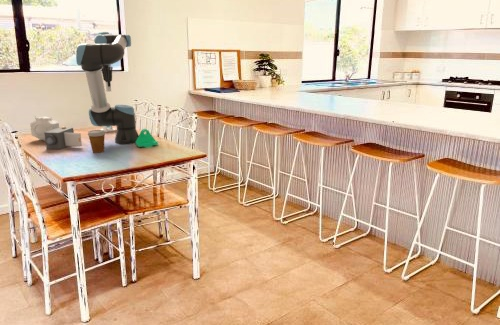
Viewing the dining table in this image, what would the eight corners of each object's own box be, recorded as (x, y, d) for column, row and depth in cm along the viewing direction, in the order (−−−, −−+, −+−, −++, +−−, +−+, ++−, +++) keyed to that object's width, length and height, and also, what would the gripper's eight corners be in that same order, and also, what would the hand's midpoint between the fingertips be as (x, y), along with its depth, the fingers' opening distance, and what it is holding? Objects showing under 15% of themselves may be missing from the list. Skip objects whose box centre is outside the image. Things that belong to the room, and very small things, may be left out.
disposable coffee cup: (110, 150, 239) (108, 130, 235) (97, 154, 231) (95, 133, 227) (99, 148, 243) (97, 129, 240) (86, 152, 235) (83, 131, 232)
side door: (64, 145, 247) (63, 132, 245) (65, 145, 248) (64, 132, 245) (81, 146, 245) (79, 133, 243) (81, 146, 246) (80, 133, 244)
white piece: (108, 132, 291) (106, 111, 287) (95, 131, 295) (93, 110, 290) (118, 129, 302) (116, 109, 298) (105, 128, 306) (103, 108, 301)
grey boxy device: (57, 150, 240) (55, 132, 237) (43, 149, 241) (41, 132, 238) (75, 143, 258) (72, 126, 255) (61, 142, 259) (59, 126, 256)
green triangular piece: (139, 148, 244) (137, 131, 242) (135, 146, 251) (134, 129, 248) (158, 146, 250) (157, 129, 247) (154, 143, 256) (153, 127, 254)
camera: (41, 138, 272) (37, 114, 268) (64, 139, 268) (61, 115, 264) (28, 141, 262) (25, 117, 258) (52, 143, 258) (49, 118, 254)
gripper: (115, 56, 272) (118, 91, 278) (106, 55, 281) (109, 90, 287) (104, 56, 267) (108, 92, 273) (95, 56, 276) (99, 91, 282)
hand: (108, 91), depth 280 cm, fingers closed
